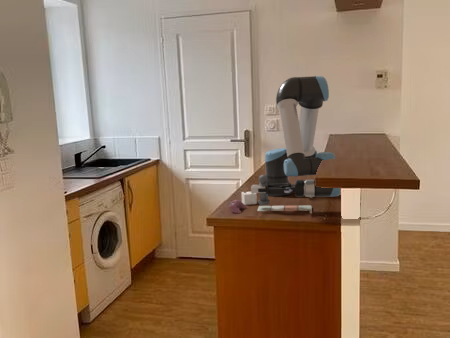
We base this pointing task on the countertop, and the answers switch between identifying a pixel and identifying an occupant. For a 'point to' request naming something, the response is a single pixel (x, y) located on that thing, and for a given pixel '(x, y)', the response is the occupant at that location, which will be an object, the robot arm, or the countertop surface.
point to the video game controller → (237, 206)
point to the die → (249, 198)
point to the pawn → (263, 196)
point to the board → (286, 208)
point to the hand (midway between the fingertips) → (251, 188)
